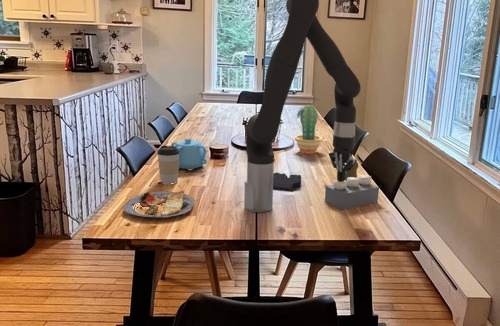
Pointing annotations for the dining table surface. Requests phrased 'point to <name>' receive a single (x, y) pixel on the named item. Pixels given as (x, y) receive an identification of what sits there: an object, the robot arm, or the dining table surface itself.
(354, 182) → the knob middle
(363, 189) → the mount block
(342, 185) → the knob near
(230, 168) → the dining table surface
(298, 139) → the potted cactus
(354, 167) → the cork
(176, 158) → the coffee cup
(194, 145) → the decorative pot
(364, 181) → the knob far
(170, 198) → the food plate
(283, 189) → the dark slate chunk
